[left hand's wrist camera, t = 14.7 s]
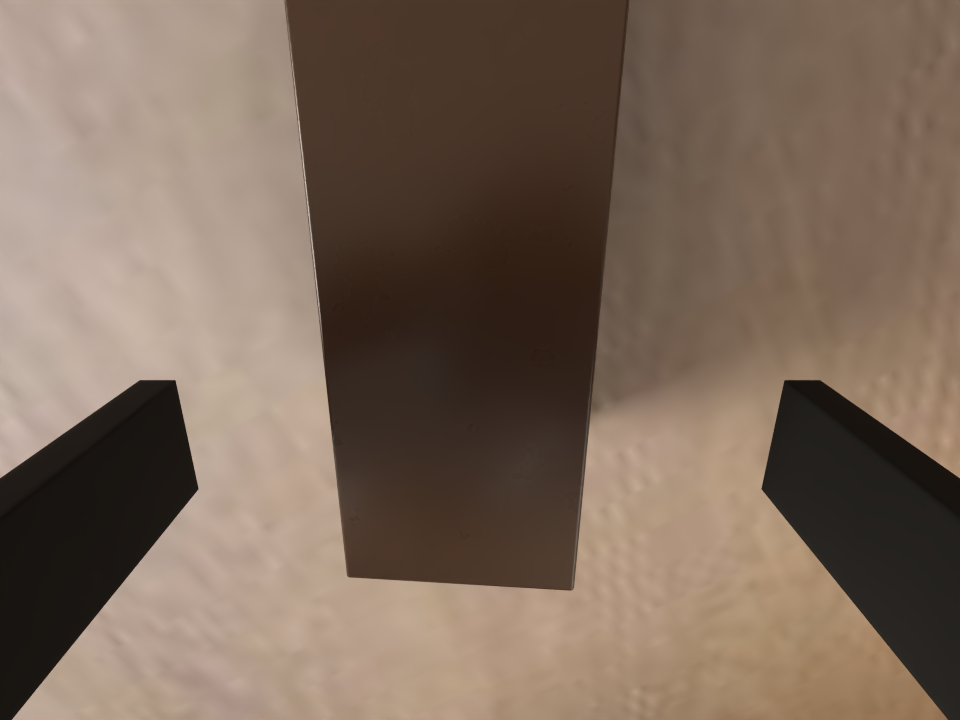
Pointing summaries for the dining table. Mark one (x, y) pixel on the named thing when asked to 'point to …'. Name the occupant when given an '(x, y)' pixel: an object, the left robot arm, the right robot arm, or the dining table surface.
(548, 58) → the beam
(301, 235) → the dining table surface
